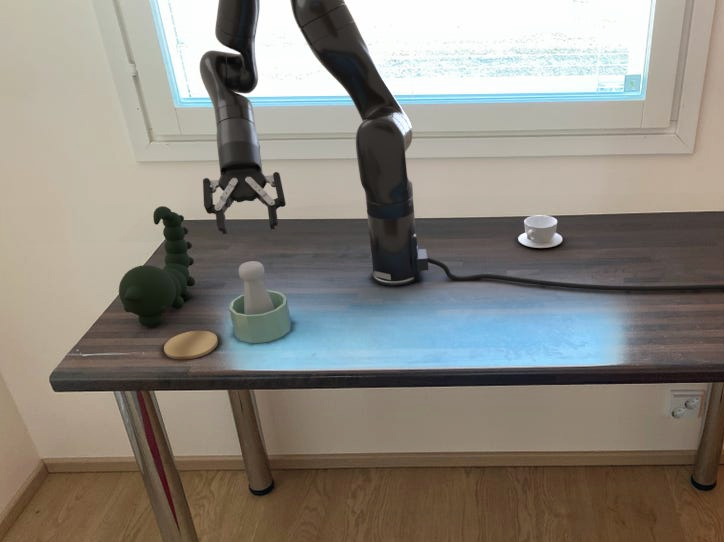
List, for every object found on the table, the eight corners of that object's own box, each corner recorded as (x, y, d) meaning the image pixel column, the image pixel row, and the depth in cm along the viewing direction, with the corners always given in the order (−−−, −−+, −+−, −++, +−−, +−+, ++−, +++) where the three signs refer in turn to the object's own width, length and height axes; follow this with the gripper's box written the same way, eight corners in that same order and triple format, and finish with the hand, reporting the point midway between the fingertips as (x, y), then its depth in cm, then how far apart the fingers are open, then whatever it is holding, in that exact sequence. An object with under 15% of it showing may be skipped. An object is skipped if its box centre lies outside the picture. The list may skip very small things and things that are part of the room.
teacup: (533, 229, 173) (533, 210, 171) (570, 238, 168) (571, 218, 166) (509, 243, 167) (509, 223, 164) (547, 253, 162) (548, 233, 159)
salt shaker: (286, 325, 136) (274, 260, 130) (266, 339, 132) (252, 273, 125) (260, 319, 139) (248, 255, 132) (240, 333, 134) (226, 268, 127)
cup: (292, 314, 140) (288, 288, 137) (288, 340, 132) (283, 313, 129) (239, 318, 139) (233, 292, 136) (232, 345, 131) (225, 318, 128)
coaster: (221, 331, 135) (221, 328, 135) (213, 357, 127) (212, 354, 127) (170, 335, 134) (169, 332, 134) (159, 361, 126) (158, 358, 126)
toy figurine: (168, 289, 154) (110, 341, 131) (148, 199, 145) (82, 238, 123) (213, 289, 153) (162, 341, 131) (195, 199, 145) (138, 238, 122)
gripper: (194, 142, 133) (203, 225, 130) (275, 136, 136) (286, 217, 133) (203, 162, 141) (212, 242, 137) (279, 156, 143) (290, 234, 140)
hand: (248, 229), depth 135 cm, fingers open, 8 cm apart
